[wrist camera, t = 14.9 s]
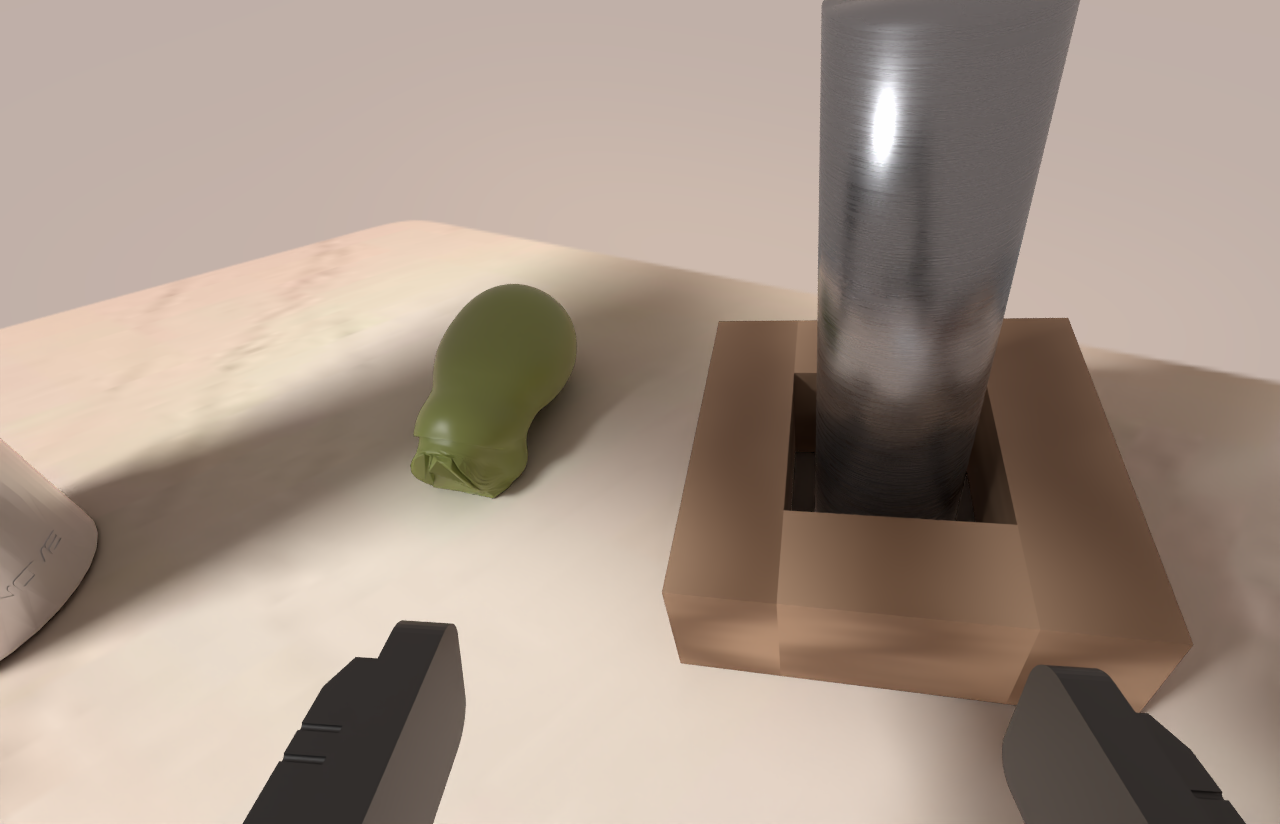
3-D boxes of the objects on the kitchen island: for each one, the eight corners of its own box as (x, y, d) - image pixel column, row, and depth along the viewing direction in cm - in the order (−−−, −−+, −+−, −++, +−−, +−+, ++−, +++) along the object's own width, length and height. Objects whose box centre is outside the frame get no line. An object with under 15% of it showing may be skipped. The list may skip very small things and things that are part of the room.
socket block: (680, 663, 21) (662, 592, 18) (726, 397, 29) (718, 321, 26) (1133, 719, 18) (1193, 644, 15) (1040, 403, 26) (1068, 317, 23)
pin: (812, 570, 22) (818, 42, 12) (816, 469, 25) (823, -23, 15) (958, 582, 21) (1116, 7, 10) (943, 475, 24) (1054, -56, 13)
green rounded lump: (575, 262, 28) (476, 461, 23) (607, 347, 33) (529, 532, 27) (462, 257, 30) (347, 441, 25) (505, 338, 34) (414, 510, 29)
